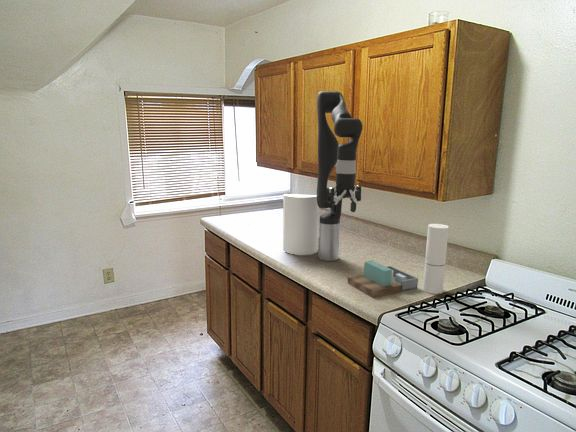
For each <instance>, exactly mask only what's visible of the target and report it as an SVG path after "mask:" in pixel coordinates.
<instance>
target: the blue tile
mask: <svg viewBox="0 0 576 432" xmlns="http://www.w3.org/2000/svg"><path fill="white" fill-rule="evenodd" d="M403 280H406V276H404V275H402V274H395V282H397V283H399V284H401V281H403Z"/></svg>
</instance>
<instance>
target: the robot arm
mask: <svg viewBox="0 0 576 432" xmlns="http://www.w3.org/2000/svg"><path fill="white" fill-rule="evenodd" d="M316 110H317V111H316V113H317V130H318V133H317V135H318V136H317V185H316V195H317V204H318V206H319V208H320V209H329V210H328V211H326V212H325V213H323V214H321V215H319V226H318V251H317V257H318V259H319V260H321V261H327V262H334V261H338V259H339V253H340V252H339V251H340V228H341V227H340V225H341V224H340V222H341V218H342V206H343V199H346V198H347V199H349V200H350V201H351V202H350V208H349V210H350V212H351V213H356V211H357V203H358V202H361V200H362V186H361V185H355V184H356V174H357V163H356V162H357V150H358V149H357V148H358V143H359V141H360V138H361V136H362V132H363V122H362V121H361V119H360V118H356V117H355V118H353V116H352V115H351V113H350V112H349V111H348V110H347V106H346V103H345V99H344V95H343V94H342V93H341V92H340V91H335V90H328V91H327V90H325V91H324V90H321V91H319V92H318V93H317V97H316ZM328 113H329V114H331V115H330V116H331V120H332V122H333V131H334V132H333V131H332V129H331V127H330V126H329V123H328V120H327V115H326V114H328ZM337 137H339V138H350V139H349V141H348V142H345V143H341V144H339V141H338V139H337ZM334 168H335V187H330V186H329V187H328V182H329V177H330V174H331V173H332V171H333V169H334Z"/></svg>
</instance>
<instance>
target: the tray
mask: <svg viewBox="0 0 576 432" xmlns="http://www.w3.org/2000/svg"><path fill="white" fill-rule="evenodd" d="M385 267H387V268H390V269H392V270H393V271H394V272H393V280H391V281H394V282H395V274H402V275H404V276H406V280H403V281H401V284H400V285H401V292H406V291H410V290H417V289H418V285H419V283H418V282H419V278H418V277H416V276H414V275H412V274H409V273H408V272H405V271H403V270H400V269H399V268H396V267H394V266H392V265H387V266H385ZM396 283H397V282H396ZM398 284H399V283H398Z"/></svg>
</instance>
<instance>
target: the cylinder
mask: <svg viewBox="0 0 576 432" xmlns="http://www.w3.org/2000/svg"><path fill="white" fill-rule="evenodd" d="M282 206H283V209H282V210H283V219H282V220H283V226H282V227H283V229H282V230H283V233H282V234H283V239H282V244H283V245H282V251H283V250H284V251H285V252H284V251H283V252H284V253H286V252H287V253H286V254H288V253H290V254H289V255H292V254H295V255H294V256H296V255H297V256H310V255H314V254H317V253H318V238H319V221H320V215H319V214H320V209H319V206H318V204H317V194H295V193H283V205H282Z"/></svg>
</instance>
